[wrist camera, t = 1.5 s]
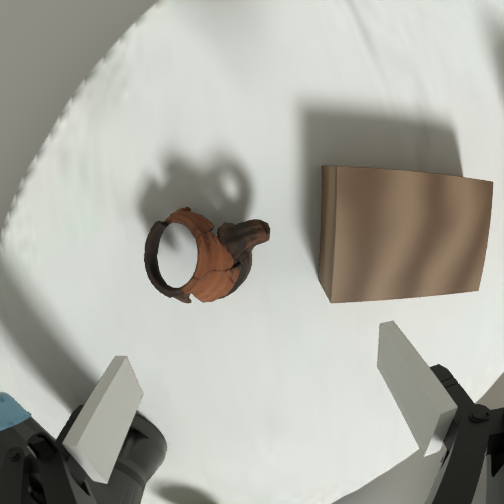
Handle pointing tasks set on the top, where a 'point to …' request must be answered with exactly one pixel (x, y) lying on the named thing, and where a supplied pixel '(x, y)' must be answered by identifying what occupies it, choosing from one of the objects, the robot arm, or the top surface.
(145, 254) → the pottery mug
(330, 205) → the walnut box
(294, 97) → the top surface
